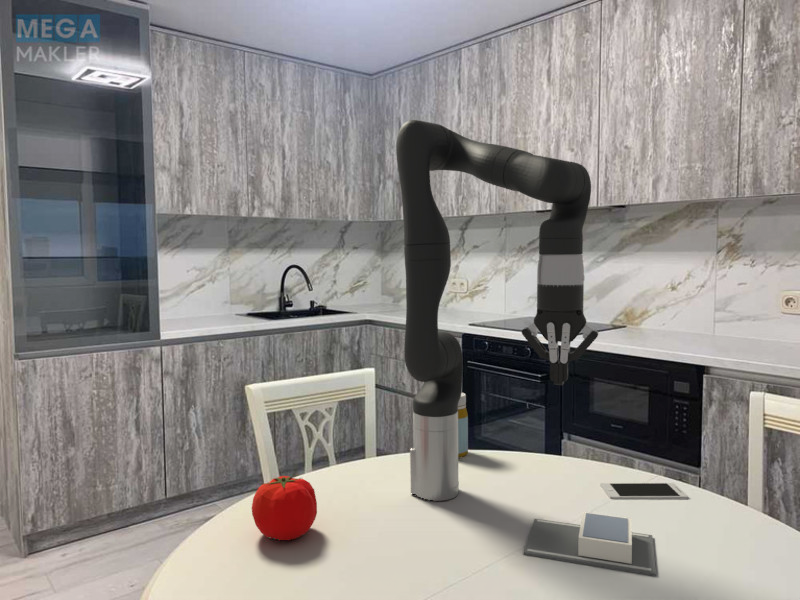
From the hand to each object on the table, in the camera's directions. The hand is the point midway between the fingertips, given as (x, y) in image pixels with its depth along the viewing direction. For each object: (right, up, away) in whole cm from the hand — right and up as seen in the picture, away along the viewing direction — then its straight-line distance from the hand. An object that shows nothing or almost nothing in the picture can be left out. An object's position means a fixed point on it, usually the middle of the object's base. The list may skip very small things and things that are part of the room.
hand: (559, 383), depth 100 cm
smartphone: (+23, -26, +21) cm, 40 cm away
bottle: (-14, -24, +46) cm, 54 cm away
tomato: (-47, -28, +5) cm, 55 cm away
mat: (+5, -27, -1) cm, 28 cm away
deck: (+7, -25, -2) cm, 26 cm away
